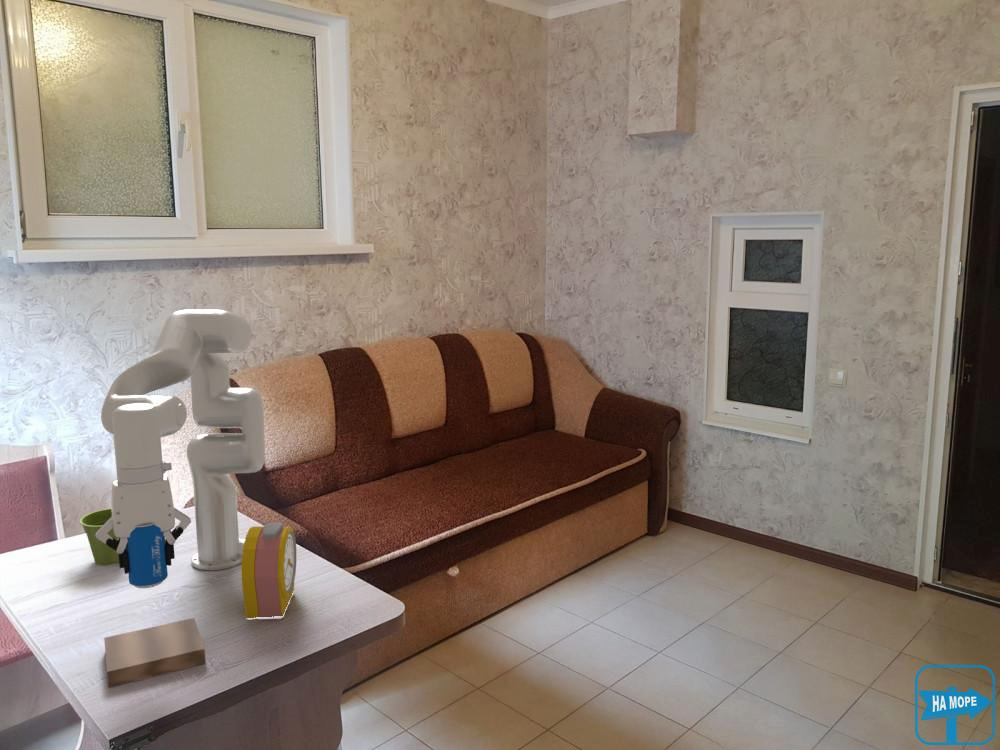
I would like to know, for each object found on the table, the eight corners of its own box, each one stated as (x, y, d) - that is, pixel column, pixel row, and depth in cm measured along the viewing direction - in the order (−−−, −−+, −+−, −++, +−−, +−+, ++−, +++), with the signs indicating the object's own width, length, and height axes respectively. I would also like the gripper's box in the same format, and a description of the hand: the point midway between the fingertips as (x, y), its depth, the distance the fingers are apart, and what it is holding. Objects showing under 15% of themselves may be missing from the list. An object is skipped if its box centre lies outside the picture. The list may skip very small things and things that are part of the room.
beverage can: (143, 593, 135) (137, 529, 133) (121, 584, 138) (116, 522, 136) (175, 579, 141) (170, 518, 138) (154, 571, 144) (149, 511, 142)
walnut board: (195, 631, 152) (194, 617, 151) (205, 663, 140) (204, 648, 140) (105, 652, 144) (104, 637, 143) (108, 687, 133) (107, 671, 132)
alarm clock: (285, 623, 155) (281, 538, 152) (244, 624, 155) (239, 539, 151) (298, 590, 170) (295, 512, 167) (261, 590, 169) (257, 512, 166)
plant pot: (77, 559, 185) (73, 515, 183) (129, 546, 193) (126, 504, 191) (91, 575, 176) (87, 529, 174) (145, 561, 184) (141, 517, 182)
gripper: (189, 460, 143) (195, 550, 146) (84, 474, 135) (93, 568, 138) (194, 471, 137) (201, 565, 140) (85, 486, 128) (94, 585, 132)
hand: (147, 566), depth 139 cm, fingers closed on beverage can, 6 cm apart
